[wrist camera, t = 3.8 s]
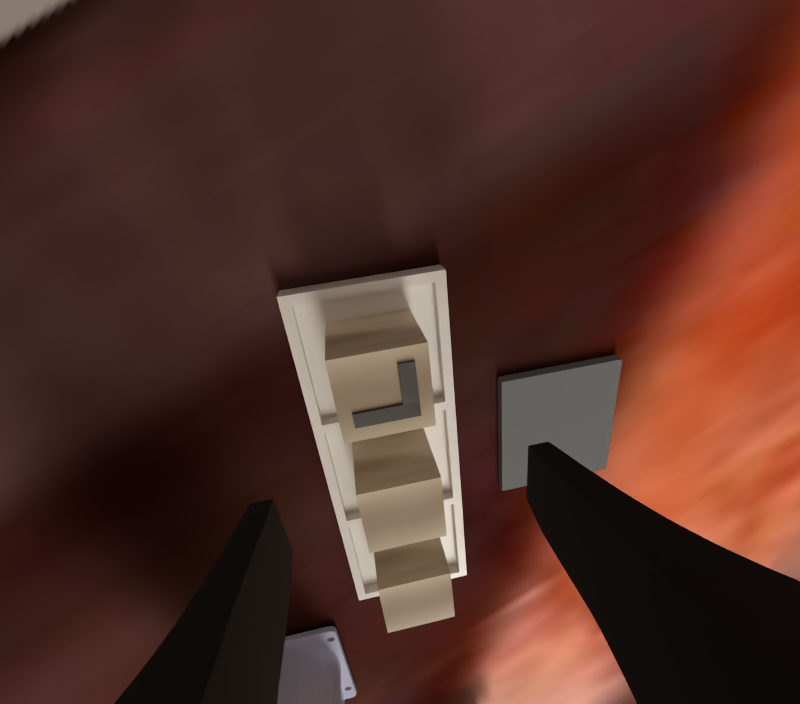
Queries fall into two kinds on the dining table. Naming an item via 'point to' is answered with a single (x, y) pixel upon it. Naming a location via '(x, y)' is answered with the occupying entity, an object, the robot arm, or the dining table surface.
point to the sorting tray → (306, 337)
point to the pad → (556, 414)
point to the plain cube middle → (398, 490)
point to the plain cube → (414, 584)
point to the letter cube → (379, 375)
